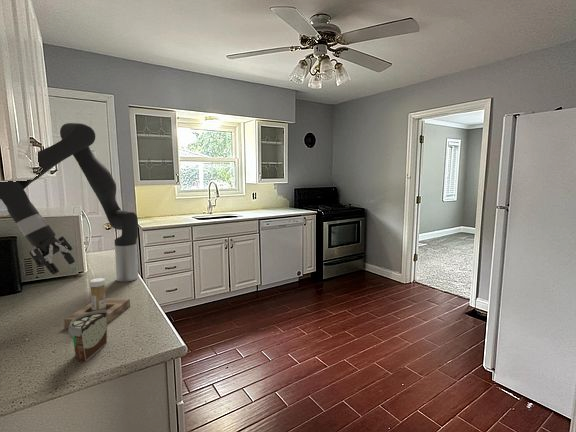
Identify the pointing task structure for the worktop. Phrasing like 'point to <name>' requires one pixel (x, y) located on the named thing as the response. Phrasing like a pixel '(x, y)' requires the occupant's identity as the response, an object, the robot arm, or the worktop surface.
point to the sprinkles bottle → (98, 294)
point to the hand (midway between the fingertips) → (64, 267)
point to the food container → (89, 333)
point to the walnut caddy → (112, 307)
